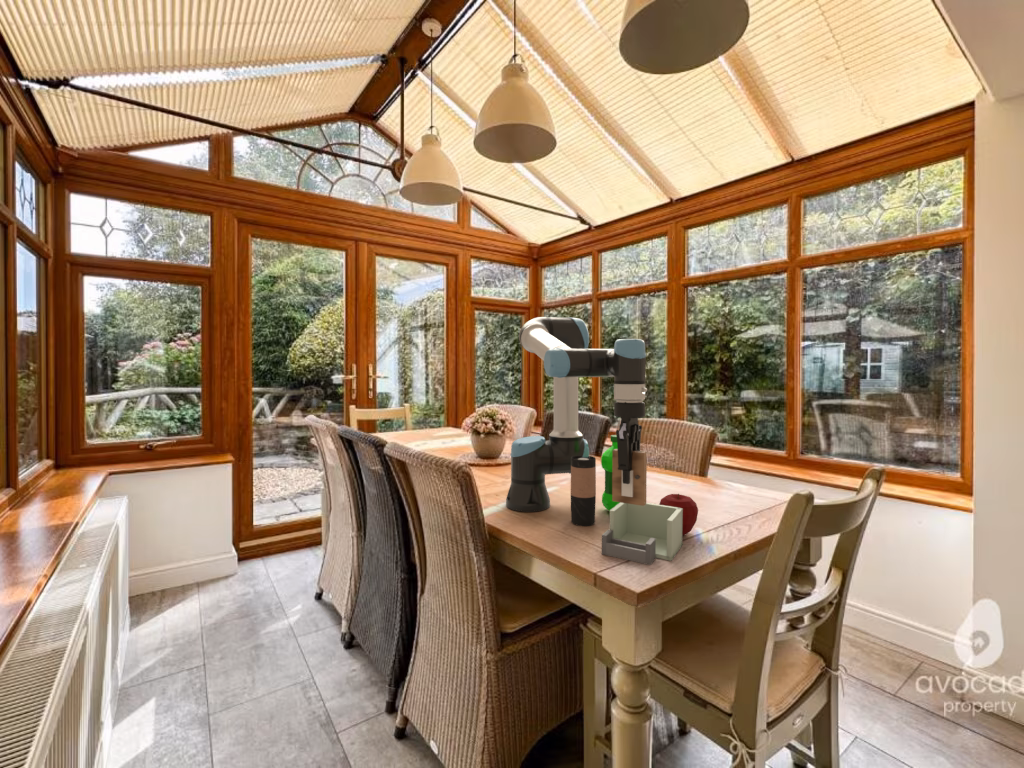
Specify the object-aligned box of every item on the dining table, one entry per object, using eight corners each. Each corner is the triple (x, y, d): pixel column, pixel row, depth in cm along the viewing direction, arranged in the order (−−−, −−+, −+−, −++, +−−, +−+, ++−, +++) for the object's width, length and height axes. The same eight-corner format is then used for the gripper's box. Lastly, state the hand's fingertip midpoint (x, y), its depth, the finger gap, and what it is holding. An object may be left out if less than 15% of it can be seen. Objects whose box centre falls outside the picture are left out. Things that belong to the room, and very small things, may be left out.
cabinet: (601, 554, 120) (601, 515, 120) (623, 533, 134) (623, 499, 134) (666, 568, 111) (666, 527, 111) (682, 545, 126) (682, 508, 125)
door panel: (611, 501, 118) (611, 450, 118) (615, 499, 121) (615, 448, 120) (642, 506, 114) (643, 453, 114) (646, 503, 117) (646, 451, 116)
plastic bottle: (613, 517, 148) (614, 439, 147) (594, 508, 158) (595, 434, 157) (638, 513, 152) (639, 437, 151) (619, 504, 162) (619, 432, 161)
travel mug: (580, 528, 139) (580, 461, 138) (565, 520, 146) (565, 456, 145) (600, 524, 143) (601, 458, 142) (585, 516, 149) (585, 454, 149)
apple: (653, 526, 140) (654, 488, 139) (689, 527, 140) (690, 488, 139) (664, 540, 129) (664, 498, 128) (703, 541, 129) (704, 499, 128)
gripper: (635, 403, 109) (634, 504, 109) (653, 399, 122) (652, 490, 122) (604, 402, 113) (603, 499, 113) (624, 398, 125) (624, 486, 126)
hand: (629, 494), depth 118 cm, fingers closed on door panel, 2 cm apart
